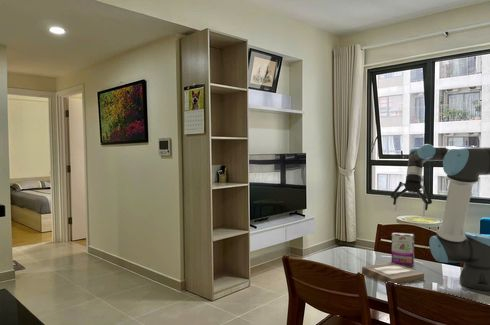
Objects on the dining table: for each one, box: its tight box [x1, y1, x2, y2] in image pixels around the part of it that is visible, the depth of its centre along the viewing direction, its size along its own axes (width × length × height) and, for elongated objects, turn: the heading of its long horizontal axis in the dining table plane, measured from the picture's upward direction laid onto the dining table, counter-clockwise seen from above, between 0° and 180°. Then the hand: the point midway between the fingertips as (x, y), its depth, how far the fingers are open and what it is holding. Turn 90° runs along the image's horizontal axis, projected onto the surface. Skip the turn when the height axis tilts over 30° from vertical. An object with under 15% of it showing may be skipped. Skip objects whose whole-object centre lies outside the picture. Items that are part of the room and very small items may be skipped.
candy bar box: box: [391, 232, 415, 267], centre depth 199 cm, size 11×5×16 cm, turn 62°
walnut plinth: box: [361, 261, 425, 285], centre depth 179 cm, size 20×20×3 cm
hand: (409, 213), depth 193 cm, fingers open, 13 cm apart
